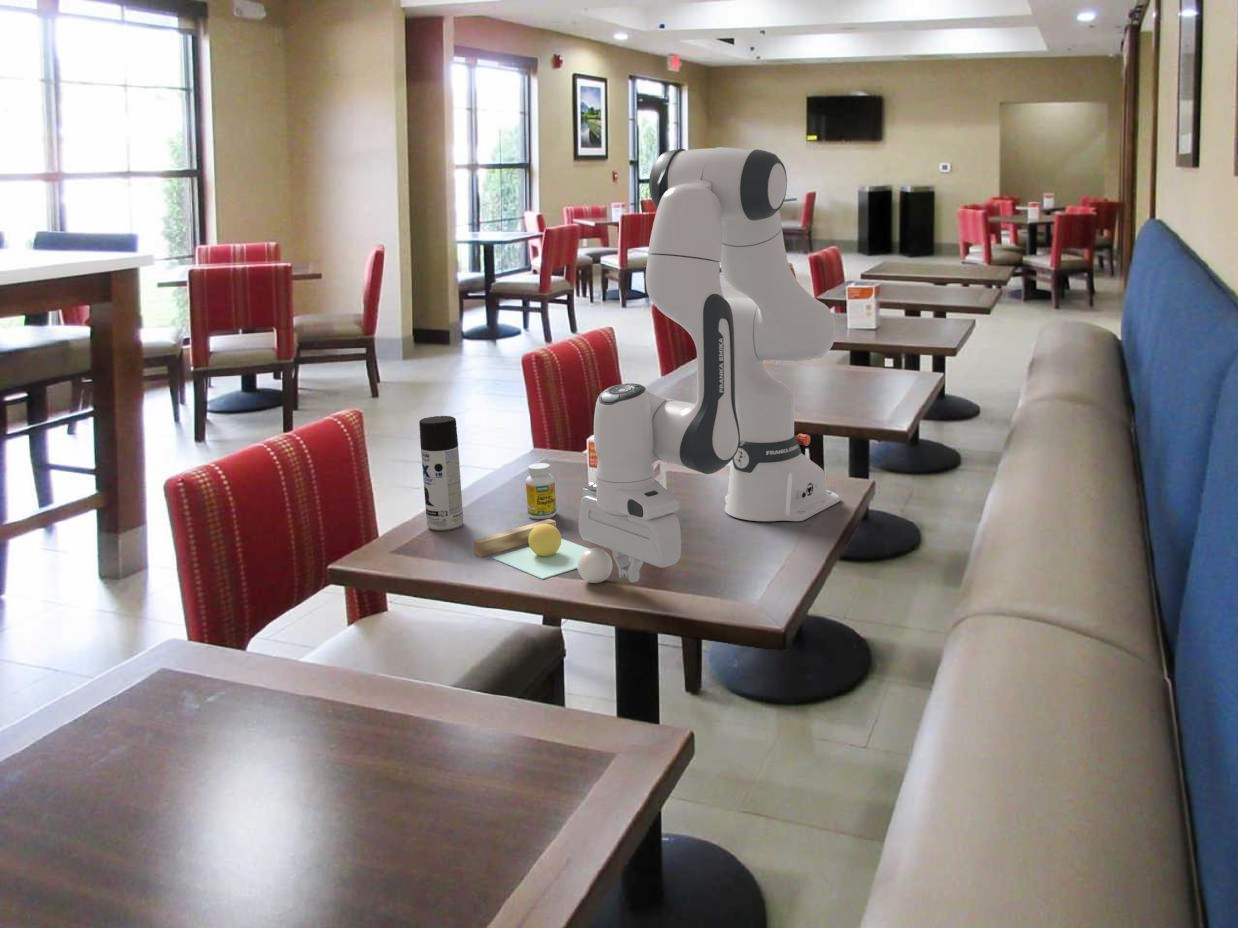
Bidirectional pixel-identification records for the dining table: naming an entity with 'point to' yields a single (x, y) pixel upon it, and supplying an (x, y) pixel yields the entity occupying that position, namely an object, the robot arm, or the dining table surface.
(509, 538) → the rail
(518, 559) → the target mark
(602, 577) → the ball
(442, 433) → the spray can
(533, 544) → the ball
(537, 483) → the supplement bottle
